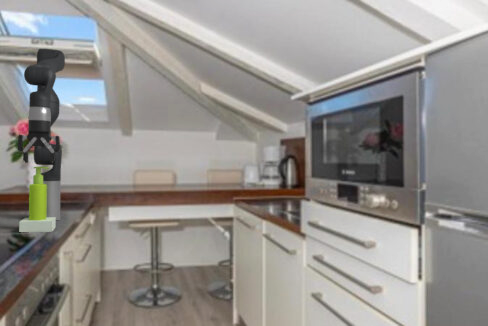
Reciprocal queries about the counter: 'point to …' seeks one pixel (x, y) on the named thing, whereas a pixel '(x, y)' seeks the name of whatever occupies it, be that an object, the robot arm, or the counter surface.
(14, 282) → the counter surface
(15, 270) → the counter surface
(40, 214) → the soap dispenser
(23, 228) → the plate
